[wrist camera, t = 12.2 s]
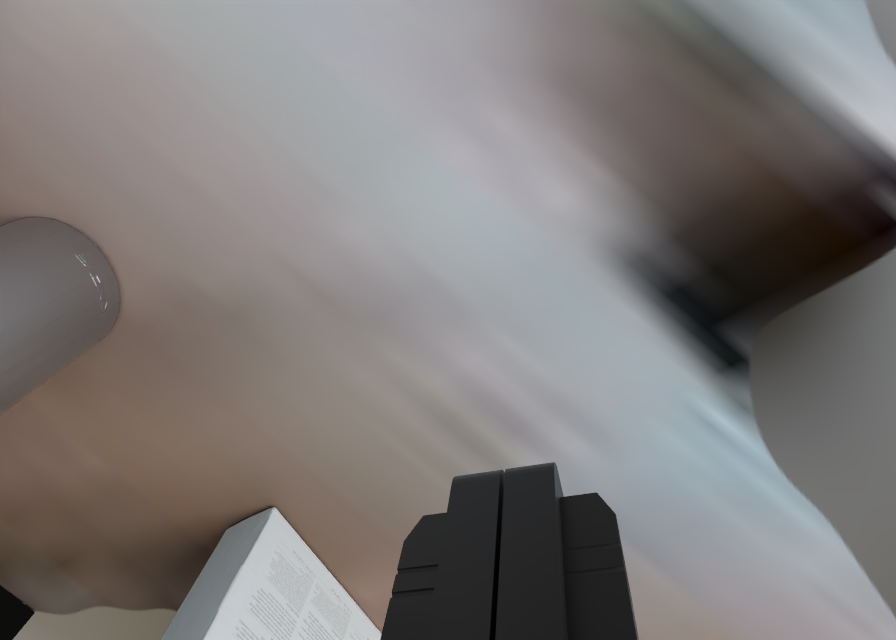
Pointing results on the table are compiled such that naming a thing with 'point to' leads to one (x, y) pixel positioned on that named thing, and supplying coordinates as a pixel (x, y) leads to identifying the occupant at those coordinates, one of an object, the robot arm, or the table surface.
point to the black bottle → (12, 615)
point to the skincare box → (267, 591)
